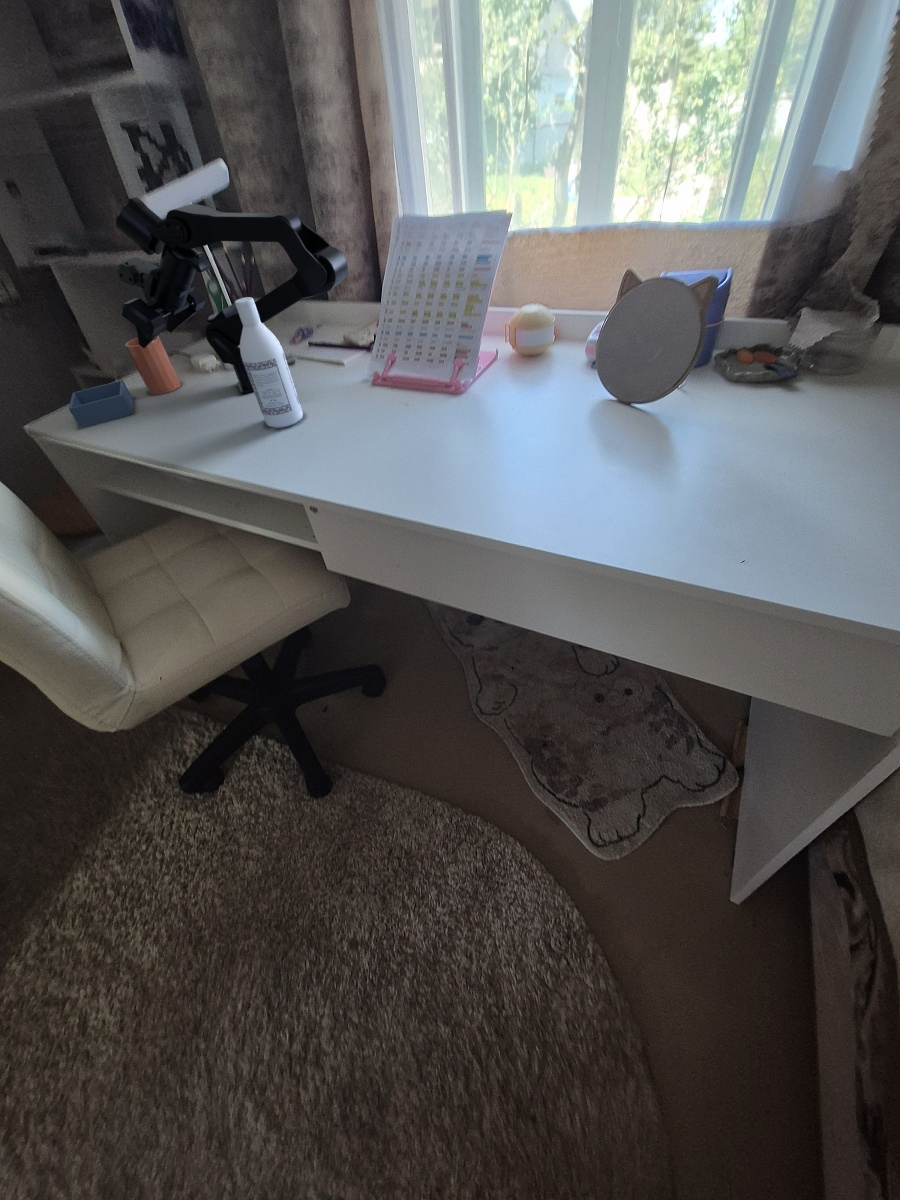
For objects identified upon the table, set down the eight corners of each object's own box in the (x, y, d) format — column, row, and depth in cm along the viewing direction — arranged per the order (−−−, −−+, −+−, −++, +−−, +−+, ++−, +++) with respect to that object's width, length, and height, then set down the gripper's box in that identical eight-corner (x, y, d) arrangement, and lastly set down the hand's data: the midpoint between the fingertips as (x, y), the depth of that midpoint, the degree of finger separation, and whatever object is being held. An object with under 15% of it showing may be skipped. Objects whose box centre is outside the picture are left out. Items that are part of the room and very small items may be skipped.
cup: (181, 388, 115) (159, 340, 108) (149, 397, 114) (125, 349, 107) (179, 379, 120) (158, 332, 113) (149, 387, 118) (125, 340, 111)
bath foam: (281, 410, 100) (241, 293, 86) (311, 413, 97) (274, 293, 84) (258, 427, 96) (212, 306, 82) (288, 430, 93) (246, 306, 79)
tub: (132, 414, 107) (122, 395, 105) (80, 428, 105) (68, 409, 102) (132, 398, 114) (122, 379, 112) (83, 411, 112) (72, 392, 109)
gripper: (165, 229, 102) (146, 296, 113) (99, 252, 90) (86, 325, 100) (216, 273, 106) (194, 333, 116) (160, 301, 93) (141, 366, 103)
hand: (155, 338), depth 109 cm, fingers open, 9 cm apart
